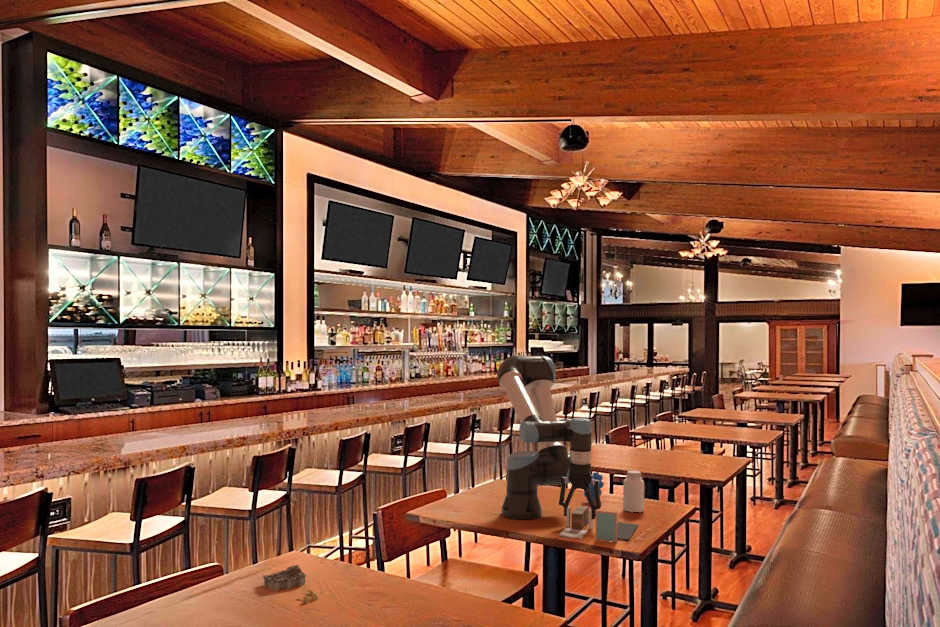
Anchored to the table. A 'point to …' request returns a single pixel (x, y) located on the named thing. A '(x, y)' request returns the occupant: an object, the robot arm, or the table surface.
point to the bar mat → (626, 530)
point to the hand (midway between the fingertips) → (579, 526)
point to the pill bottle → (633, 492)
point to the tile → (606, 525)
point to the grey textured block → (285, 579)
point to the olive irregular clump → (308, 596)
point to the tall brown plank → (577, 523)
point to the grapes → (601, 484)
